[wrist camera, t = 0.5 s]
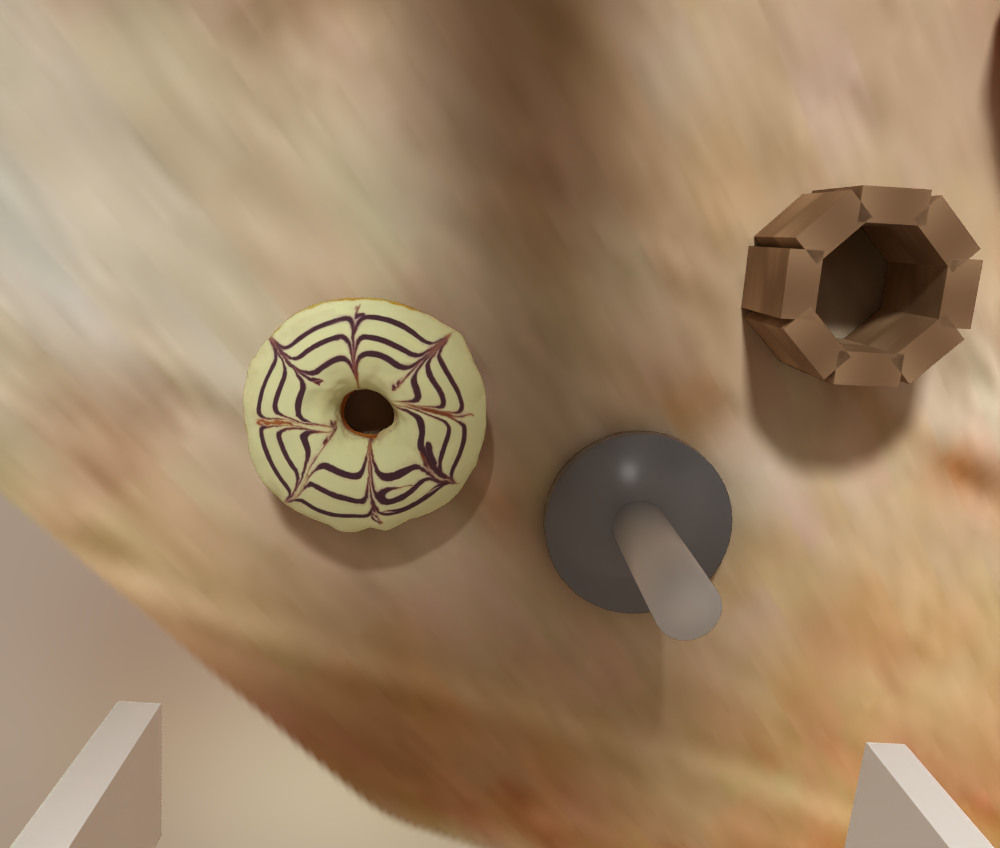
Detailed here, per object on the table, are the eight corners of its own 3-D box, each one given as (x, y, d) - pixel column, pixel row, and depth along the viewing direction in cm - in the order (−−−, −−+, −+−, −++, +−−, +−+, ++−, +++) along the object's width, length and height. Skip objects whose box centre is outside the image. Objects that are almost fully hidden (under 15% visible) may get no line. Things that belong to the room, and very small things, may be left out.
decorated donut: (489, 505, 41) (492, 533, 38) (268, 516, 41) (249, 545, 37) (480, 290, 39) (482, 297, 35) (245, 300, 39) (222, 308, 35)
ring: (756, 187, 38) (798, 181, 33) (928, 198, 39) (995, 194, 34) (734, 362, 40) (772, 381, 35) (899, 371, 40) (959, 390, 36)
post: (550, 426, 40) (578, 489, 31) (736, 435, 41) (821, 499, 31) (537, 601, 42) (559, 712, 33) (714, 607, 43) (788, 719, 33)
